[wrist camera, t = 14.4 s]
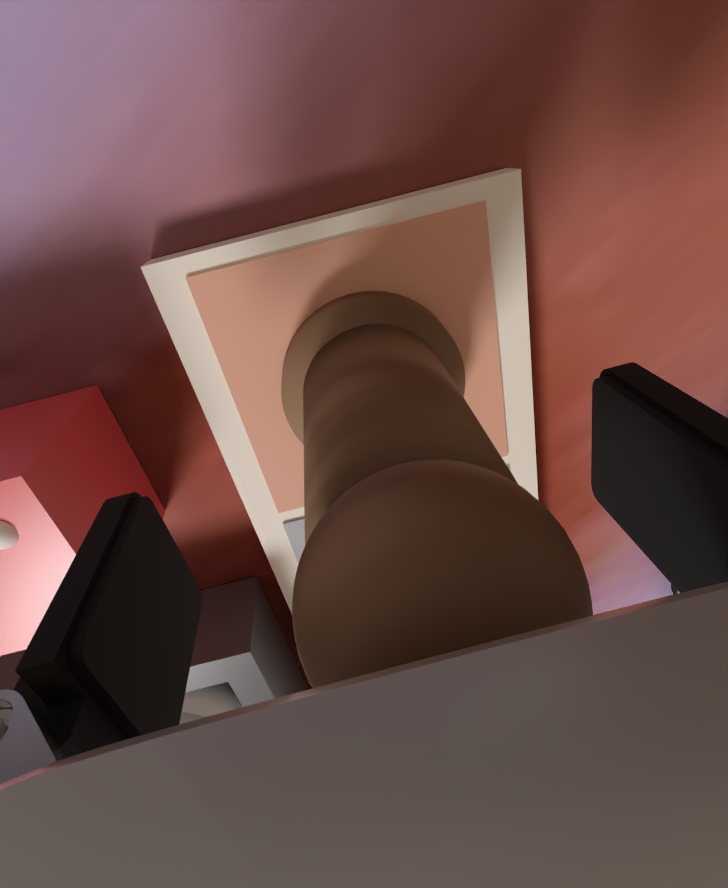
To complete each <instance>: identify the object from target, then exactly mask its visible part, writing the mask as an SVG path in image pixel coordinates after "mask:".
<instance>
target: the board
mask: <svg viewBox="0 0 728 888" xmlns="http://www.w3.org/2000/svg"><path fill="white" fill-rule="evenodd" d="M141 269H142V272H143V274H144V276H145V279H146V281H147V283H148V285H149V288H150V290H151V292H152V295H153V297H154V299H155V302H156V304H157V306H158V308H159V311H160V313H161V315H162V318H163V320H164V322H165V324H166V327H167V329H168V331H169V334H170V336H171V338H172V341H173V343H174V345H175V347H176V350H177V352H178V354H179V357H180V359H181V361H182V363H183V366H184V368H185V370H186V373H187V375H188V377H189V380H190V382H191V384H192V386H193V389H194V391H195V393H196V396H197V398H198V400H199V402H200V405H201V407H202V409H203V412H204V414H205V416H206V419H207V421H208V423H209V425H210V428H211V430H212V432H213V435H214V437H215V439H216V441H217V444H218V446H219V448H220V451H221V453H222V455H223V458H224V460H225V462H226V464H227V467H228V469H229V471H230V474H231V476H232V478H233V480H234V483H235V485H236V487H237V490H238V492H239V494H240V497H241V499H242V501H243V503H244V506H245V508H246V510H247V513H248V515H249V517H250V520H251V522H252V524H253V526H254V529H255V531H256V533H257V536H258V538H259V540H260V542H261V545H262V547H263V549H264V552H265V554H266V556H267V559H268V561H269V563H270V565H271V568H272V570H273V572H274V575H275V577H276V579H277V581H278V584H279V586H280V588H281V591H282V593H283V595H284V598H285V600H286V602H287V604H288V607H289V609H290V611H291V614H292V597H293V588H294V581H295V576H296V572H297V568H298V564H299V561H300V557H301V555H302V552H303V550H304V547H305V522H304V445H303V444H302V443H301V441H300V440H299V439H298V438H297V437H296V435H295V434H294V432H293V431H292V429H291V427H290V425H289V423H288V421H287V419H286V416H285V413H284V409H283V405H282V397H281V382H282V370H283V363H284V358H285V355H286V351H287V348H288V346H289V344H290V342H291V340H292V337H293V336H294V334H295V333H296V331H297V330H298V328H299V327H300V326H301V325H302V323H303V322H304V321H305V320H306V319H307V318H308V317H309V316H310V315H311V314H312V313H314V312H315V311H316V310H317V309H319V308H320V307H322V306H323V305H325V304H326V303H328V302H330V301H332V300H334V299H336V298H339V297H342V296H345V295H348V294H352V293H357V292H362V291H385V292H391V293H395V294H399V295H402V296H405V297H408V298H410V299H412V300H414V301H416V302H418V303H420V304H421V305H423V306H424V307H425V308H427V309H428V310H429V311H430V312H431V313H432V314H433V315H435V316H436V317H437V318H438V320H439V321H440V322H441V324H442V325H443V326H444V328H445V329H446V330H447V331H448V333H449V334H450V335H451V337H452V338H453V340H454V341H455V343H456V345H457V347H458V349H459V351H460V354H461V356H462V359H463V364H464V369H465V380H466V381H465V393H464V399H465V401H466V402H467V404H468V405H469V407H470V408H471V410H472V412H473V413H474V415H475V416H476V418H477V419H478V421H479V423H480V424H481V426H482V427H483V429H484V430H485V432H486V434H487V435H488V437H489V438H490V440H491V441H492V443H493V445H494V446H495V448H496V449H497V451H498V452H499V454H500V456H501V457H502V459H503V460H504V462H505V463H506V465H507V467H508V468H509V470H510V471H511V473H512V474H513V476H514V478H515V480H516V481H517V483H518V485H520V486H521V487H523V488H524V489H526V490H527V491H528V492H529V493H530V494H531V495H533V496H534V497H535V498H536V499H537V500H538V484H537V465H536V446H535V427H534V408H533V389H532V369H531V350H530V331H529V312H528V293H527V274H526V254H525V235H524V216H523V197H522V178H521V169H515V168H504V169H500V170H496V171H492V172H488V173H485V174H481V175H477V176H473V177H469V178H465V179H461V180H457V181H454V182H450V183H446V184H442V185H438V186H434V187H430V188H426V189H422V190H419V191H415V192H411V193H407V194H403V195H399V196H395V197H391V198H388V199H384V200H380V201H376V202H372V203H368V204H364V205H360V206H356V207H353V208H349V209H345V210H341V211H337V212H333V213H329V214H325V215H321V216H318V217H314V218H310V219H306V220H302V221H298V222H294V223H290V224H287V225H283V226H279V227H275V228H271V229H267V230H263V231H259V232H255V233H252V234H248V235H244V236H240V237H236V238H232V239H228V240H224V241H221V242H217V243H213V244H209V245H205V246H201V247H197V248H193V249H189V250H186V251H182V252H178V253H174V254H170V255H166V256H162V257H158V258H155V259H151V260H149V261H148V262H146V263H145V264H144V265H142V266H141Z"/></svg>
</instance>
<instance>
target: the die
mask: <svg viewBox="0 0 728 888" xmlns="http://www.w3.org/2000/svg"><path fill="white" fill-rule="evenodd" d="M132 492H137V493H139V494H140V495H141V496H142V497H144V496H148V497H149V498H150V499H151V500H152V501H153V503H154V505H155V507H156V509H157V510H158V512H159V514H160V516H161V518H162V519H163V516H164V514H165V509H164V507H163V506H162V504H161V502H160V500H159V498H158V496H157V494H156V493H155V491H154V489H153V487H152V485H151V483H150V482H149V480H148V478H147V476H146V474H145V472H144V471H143V469H142V467H141V465H140V463H139V461H138V459H137V458H136V456H135V454H134V452H133V450H132V448H131V447H130V445H129V443H128V441H127V439H126V437H125V435H124V434H123V432H122V430H121V428H120V426H119V424H118V423H117V421H116V419H115V417H114V415H113V413H112V412H111V410H110V408H109V406H108V404H107V402H106V400H105V399H104V397H103V395H102V393H101V391H100V389H99V388H98V386H97V385H95V386H91V387H87V388H83V389H79V390H75V391H71V392H67V393H63V394H59V395H55V396H51V397H48V398H44V399H40V400H36V401H32V402H28V403H24V404H20V405H16V406H12V407H8V408H4V409H1V410H0V656H1V655H5V654H9V653H13V652H17V651H21V650H25V649H27V647H28V645H29V643H30V641H31V639H32V637H33V636H34V634H35V632H36V630H37V628H38V626H39V624H40V622H41V620H42V618H43V617H44V615H45V613H46V611H47V609H48V607H49V605H50V603H51V601H52V599H53V598H54V596H55V594H56V592H57V590H58V588H59V586H60V584H61V582H62V580H63V579H64V577H65V575H66V573H67V571H68V569H69V567H70V565H71V563H72V561H73V560H74V558H75V556H76V554H77V552H78V550H79V548H80V546H81V544H82V542H83V541H84V539H85V537H86V535H87V533H88V531H89V529H90V527H91V525H92V523H93V522H94V520H95V518H96V516H97V514H98V512H99V510H100V508H101V506H102V504H103V503H104V501H105V500H106V499H109V498H113V497H116V496H120V495H124V494H128V493H132Z"/></svg>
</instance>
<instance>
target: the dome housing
mask: <svg viewBox="0 0 728 888" xmlns="http://www.w3.org/2000/svg"><path fill="white" fill-rule="evenodd" d="M201 594H202V607H201V612H200V617H199V623H198V628H197V633H196V639H195V644H194V649H193V655H192V660H191V665H190V670H189V676H188V681H187V686H186V692H189V691H193V690H197V689H201V688H205V687H209V686H213V685H217V684H221V683H225V682H228V683H229V684H230V686H231V688H232V689H233V691H234V693H235V694H236V696H237V698H238V699H239V701H240V703H241V704H242V706H243V707H245V706H249V705H253V704H256V703H260V702H264V701H268V700H271V699H275V698H279V697H283V696H286V695H290V694H294V693H298V692H301V691H305V690H309V688H308V686H307V684H306V682H305V680H304V677H303V675H302V673H301V671H300V669H299V667H298V664H297V662H296V660H295V658H294V656H293V654H292V651H291V649H290V647H289V645H288V643H287V641H286V638H285V636H284V634H283V632H282V630H281V628H280V625H279V623H278V621H277V619H276V617H275V615H274V613H273V610H272V608H271V606H270V604H269V602H268V600H267V597H266V595H265V593H264V591H263V589H262V587H261V584H260V582H259V580H258V578H257V576H256V577H252V578H248V579H244V580H240V581H236V582H232V583H228V584H224V585H220V586H216V587H212V588H208V589H204V590H201ZM25 651H26V649H25V650H21V651H17V652H13V653H9V654H5V655H2V656H1V657H0V690H4V689H8V690H14V688H15V686H16V684H17V682H18V680H19V678H20V676H19V675H18V674H17V673H16V672H15V670H16V668H17V666H18V664H19V662H20V660H21V658H22V656H23V655H24V653H25Z"/></svg>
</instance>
